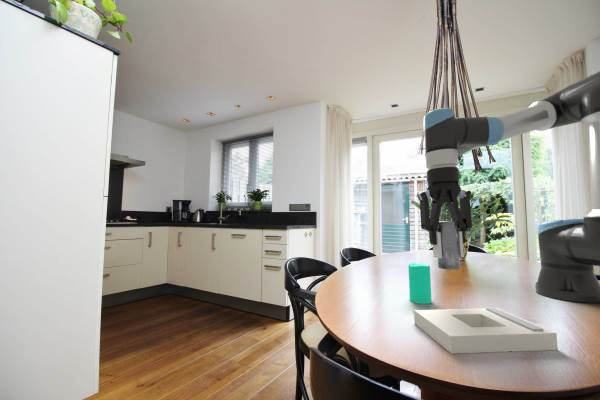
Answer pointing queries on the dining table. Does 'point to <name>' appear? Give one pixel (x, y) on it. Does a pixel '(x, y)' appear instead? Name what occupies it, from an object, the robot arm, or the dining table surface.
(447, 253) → the tall grey prism
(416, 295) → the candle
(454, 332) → the jig
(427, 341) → the dining table surface
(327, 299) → the dining table surface
